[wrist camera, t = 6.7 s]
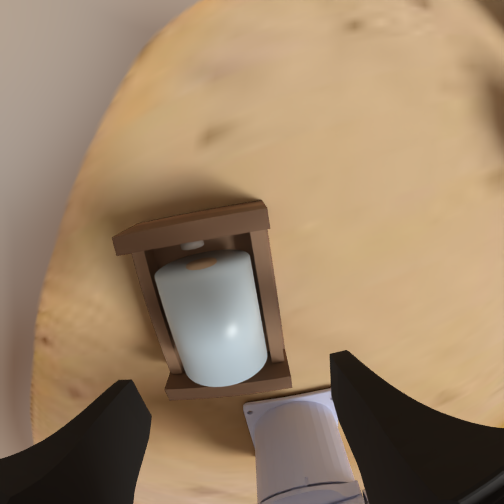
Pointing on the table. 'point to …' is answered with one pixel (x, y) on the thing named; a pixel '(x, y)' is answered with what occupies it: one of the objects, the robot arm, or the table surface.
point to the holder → (197, 241)
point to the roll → (214, 316)
